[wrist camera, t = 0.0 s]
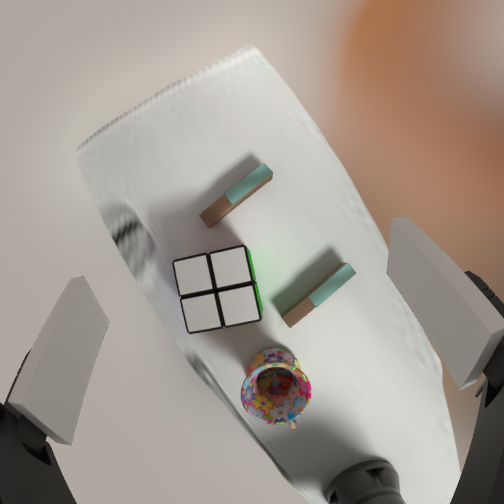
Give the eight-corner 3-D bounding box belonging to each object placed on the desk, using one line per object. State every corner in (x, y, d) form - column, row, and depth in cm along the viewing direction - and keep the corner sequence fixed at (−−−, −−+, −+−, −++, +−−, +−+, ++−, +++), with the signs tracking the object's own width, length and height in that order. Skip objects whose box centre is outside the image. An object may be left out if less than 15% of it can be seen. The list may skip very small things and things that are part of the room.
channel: (350, 273, 47) (356, 273, 44) (288, 325, 47) (290, 328, 44) (264, 169, 49) (264, 162, 46) (202, 218, 49) (198, 214, 45)
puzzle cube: (189, 263, 48) (170, 260, 38) (249, 249, 48) (245, 243, 38) (202, 323, 48) (187, 335, 38) (263, 311, 47) (262, 320, 37)
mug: (236, 357, 47) (228, 378, 36) (289, 335, 47) (295, 351, 36) (265, 415, 46) (265, 447, 35) (316, 395, 46) (328, 423, 35)
